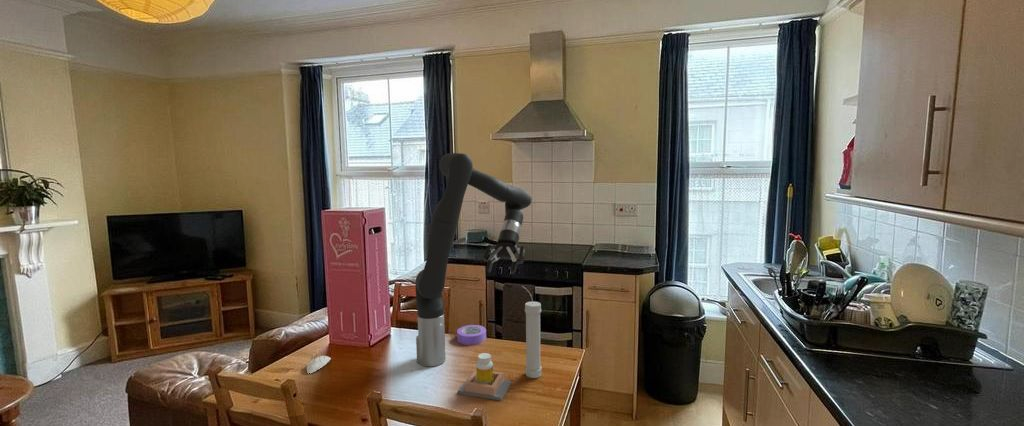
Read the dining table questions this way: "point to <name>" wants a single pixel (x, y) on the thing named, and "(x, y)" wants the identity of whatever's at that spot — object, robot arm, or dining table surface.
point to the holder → (486, 387)
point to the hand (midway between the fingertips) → (500, 272)
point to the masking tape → (471, 334)
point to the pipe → (533, 339)
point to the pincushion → (317, 363)
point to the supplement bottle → (484, 369)
